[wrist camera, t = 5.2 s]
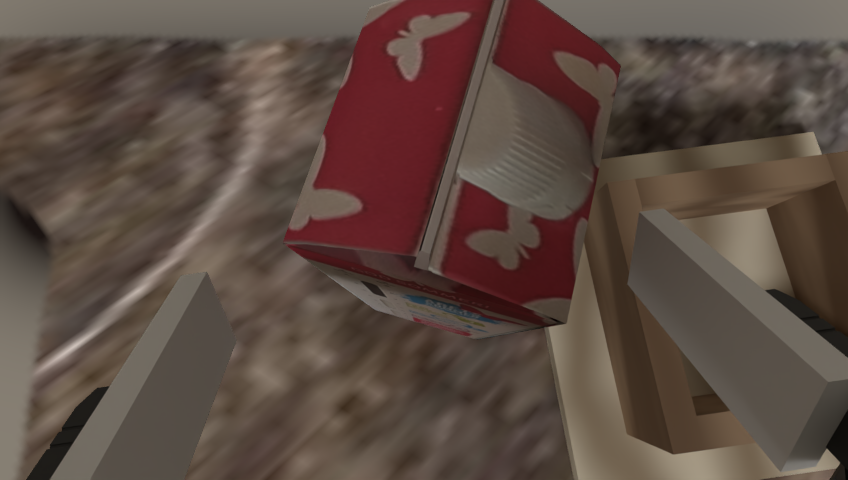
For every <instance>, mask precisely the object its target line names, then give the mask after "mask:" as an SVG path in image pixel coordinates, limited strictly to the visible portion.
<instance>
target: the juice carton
mask: <svg viewBox="0 0 848 480" xmlns="http://www.w3.org/2000/svg"><path fill="white" fill-rule="evenodd" d="M494 1H495V2H494ZM492 8H493V9H492ZM491 11H492V12H491ZM489 18H490V19H489ZM488 21H489V22H488ZM487 25H488V26H487ZM496 25H497V26H496ZM486 28H487V29H486ZM485 31H486V32H485ZM620 67H621V66H620V64H619V63H618V62H617V61H616V60H615V59H614V58H613V57H612V56H611V55H610V54H609V53H608V52H607V51H606V50H605V49H604V48H603V47H602V46H600V45H599V44H598V43H596V42H595V41H593V40H592V39H591V38H589V37H588V36H587V35H585V34H584V33H582V32H581V31H580V30H578V29H577V28H575V27H574V26H573V25H571V24H570V23H569V22H567V21H566V20H564V19H563V18H562V17H560V16H559V15H557V14H556V13H554V12H553V11H552V10H551V9H549V8H548V7H546V6H545V5H544V4H542V3H541V2H540V1H538V0H389V1H386V2H383V3H380V4H378V5H375V6H372V7H370V9H369V11H368V14H367V17H366V20H365V22H364V25H363V28H362V30H361V33H360V36H359V38H358V41H357V44H356V46H355V49H354V52H353V54H352V57H351V60H350V63H349V65H348V68H347V71H346V73H345V76H344V79H343V81H342V84H341V87H340V90H339V92H338V95H337V98H336V100H335V103H334V106H333V108H332V111H331V114H330V116H329V119H328V122H327V125H326V127H325V130H324V133H323V135H322V138H321V141H320V143H319V146H318V149H317V152H316V154H315V157H314V160H313V162H312V165H311V168H310V170H309V173H308V176H307V179H306V181H305V184H304V187H303V189H302V192H301V195H300V197H299V200H298V203H297V205H296V208H295V211H294V214H293V216H292V219H291V222H290V224H289V227H288V230H287V232H286V235H285V238H284V241H283V244H285V245H286V246H288V247H289V248H290V249H292V250H293V251H295V252H296V253H297V254H299V255H300V256H301V257H303V258H304V259H306V260H307V261H308V262H310V263H311V264H313V265H314V266H315V267H317V268H318V269H319V270H321V271H322V272H324V273H325V274H326V275H328V276H329V277H331V278H332V279H333V280H335V281H336V282H337V283H339V284H340V285H342V286H343V287H344V288H346V289H347V290H348V291H350V292H351V293H353V294H354V295H355V296H357V297H358V298H360V299H361V300H362V301H364V302H365V303H367V304H368V305H369V306H371V307H372V308H374V309H375V310H377V311H381V312H384V313H388V314H391V315H394V316H398V317H401V318H405V319H408V320H412V321H415V322H418V323H422V324H425V325H429V326H432V327H436V328H439V329H442V330H446V331H449V332H453V333H456V334H460V335H463V336H466V337H470V338H473V339H482V338H488V337H494V336H500V335H505V334H511V333H517V332H523V331H528V330H534V329H540V328H545V327H551V326H557V325H563V324H567V319H568V314H569V310H570V305H571V300H572V295H573V291H574V286H575V281H576V276H577V272H578V267H579V262H580V257H581V253H582V248H583V243H584V238H585V234H586V229H587V224H588V219H589V215H590V210H591V205H592V200H593V195H594V191H595V186H596V181H597V176H598V172H599V167H600V162H601V157H602V153H603V148H604V143H605V138H606V134H607V129H608V124H609V119H610V115H611V110H612V105H613V100H614V96H615V91H616V86H617V81H618V77H619V72H620Z"/></svg>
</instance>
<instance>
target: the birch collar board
mask: <svg viewBox="0 0 848 480" xmlns="http://www.w3.org/2000/svg"><path fill="white" fill-rule="evenodd" d="M657 209H665V210H666V211H668V212H669V213H670V214H671V215H672V216H674V217H675V218H676V219H677V220H679V221H680V222H681V223H682V224H684V225H685V226H686V227H687V228H688V229H690V230H691V231H692V232H693V233H695V234H696V235H697V236H698V237H700V238H701V239H702V240H703V241H704V242H706V243H707V244H708V245H709V246H711V247H712V248H713V249H714V250H716V251H717V252H718V253H719V254H720V255H722V256H723V257H724V258H725V259H727V260H728V261H729V262H730V263H732V264H733V265H734V266H735V267H737V268H738V269H739V270H740V271H741V272H743V273H744V274H745V275H746V276H748V277H749V278H750V279H751V280H753V281H754V282H755V283H756V284H757V285H759V286H760V287H761V288H762V289H764V290H770V289H776V290H779V291H781V292H783V293H785V294H787V295H789V296H791V297H793V298H795V299H798V300H800V301H801V302H802V303H804V304H805V305H806V306H808V307H809V308H810V309H811V310H813V311H814V312H815V313H817V314H818V315H819V318H820V319H824V320H826V321H827V322H828V323H830V324H831V325H832V326H834V327H835V330H836V331H840V332H841V333H843V334H844V335H845V336H847V337H848V151H845V152H837V153H830V154H821V151H820V148H819V146H818V143H817V140H816V137H815V135H814V132H809V133H801V134H793V135H785V136H778V137H770V138H762V139H754V140H747V141H739V142H731V143H723V144H716V145H708V146H700V147H692V148H685V149H677V150H669V151H661V152H653V153H646V154H638V155H630V156H622V157H615V158H607V159H601V162H600V167H599V172H598V176H597V181H596V186H595V191H594V195H593V200H592V205H591V210H590V215H589V219H588V224H587V229H586V234H585V238H584V243H583V248H582V253H581V257H580V262H579V267H578V272H577V276H576V281H575V286H574V291H573V295H572V300H571V305H570V310H569V314H568V319H567V324H563V325H557V326H551V327H545V328H544V329H545V334H546V339H547V344H548V350H549V355H550V360H551V365H552V370H553V375H554V381H555V386H556V391H557V396H558V401H559V407H560V412H561V417H562V422H563V427H564V432H565V438H566V443H567V448H568V453H569V458H570V463H571V469H572V474H573V479H574V480H760V479H766V478H773V477H780V476H787V475H794V474H801V473H807V472H814V471H821V470H828V469H835V468H837V467H838V466H839V464H840V462H839V461H838V460H837V459H836V458H835V457H834V456H833V455H832V453H831V452H830V451H829V450H828V449H826V450H825V452H824V454H823V455H822V457H821V459H820V461H819V462H818V464H817V466H816V467H811V468H805V469H798V470H792V471H785V472H780V471H779V470H778V469H777V467H776V466H775V465H774V464H773V462H772V461H771V460H770V459H769V458H768V456H767V455H766V454H765V453H764V451H763V450H762V449H761V448H760V446H759V445H758V444H757V443H756V442H755V440H754V439H753V438H752V437H751V435H750V434H749V433H748V432H747V431H746V429H745V428H744V427H743V426H742V424H741V423H740V422H739V421H738V419H737V418H736V417H735V416H734V415H733V413H732V412H731V411H730V410H729V408H728V407H727V406H726V405H725V403H724V402H723V401H722V400H721V399H720V397H719V396H718V395H717V394H716V392H715V391H714V390H713V389H712V388H711V386H710V385H709V384H708V383H707V381H706V380H705V379H704V378H703V376H702V375H701V374H700V373H699V372H698V370H697V369H696V368H695V367H694V365H693V364H692V363H691V362H690V360H689V359H688V358H687V357H686V356H685V354H684V353H683V352H682V351H681V349H680V348H679V347H678V346H677V345H676V343H675V342H674V341H673V340H672V338H671V337H670V336H669V335H668V333H667V332H666V331H665V330H664V329H663V327H662V326H661V325H660V324H659V322H658V321H657V320H656V319H655V317H654V316H653V315H652V314H651V313H650V311H649V310H648V309H647V308H646V306H645V305H644V304H643V303H642V302H641V300H640V299H639V298H638V297H637V295H636V294H635V293H634V292H633V290H632V289H631V288H630V287H629V286H628V278H629V272H630V265H631V259H632V253H633V247H634V241H635V235H636V229H637V223H638V217H639V212H642V211H649V210H657Z"/></svg>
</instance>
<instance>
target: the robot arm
mask: <svg viewBox="0 0 848 480" xmlns="http://www.w3.org/2000/svg"><path fill="white" fill-rule="evenodd" d="M628 286H629V287H630V288H631V289H632V290H633V292H634V293H635V294H636V295H637V297H638V298H639V299H640V300H641V302H642V303H643V304H644V305H645V306H646V308H647V309H648V310H649V311H650V313H651V314H652V315H653V316H654V317H655V319H656V320H657V321H658V322H659V324H660V325H661V326H662V327H663V329H664V330H665V331H666V332H667V333H668V335H669V336H670V337H671V338H672V340H673V341H674V342H675V343H676V345H677V346H678V347H679V348H680V349H681V351H682V352H683V353H684V354H685V356H686V357H687V358H688V359H689V360H690V362H691V363H692V364H693V365H694V367H695V368H696V369H697V370H698V372H699V373H700V374H701V375H702V376H703V378H704V379H705V380H706V381H707V383H708V384H709V385H710V386H711V388H712V389H713V390H714V391H715V392H716V394H717V395H718V396H719V397H720V399H721V400H722V401H723V402H724V403H725V405H726V406H727V407H728V408H729V410H730V411H731V412H732V413H733V415H734V416H735V417H736V418H737V419H738V421H739V422H740V423H741V424H742V426H743V427H744V428H745V429H746V431H747V432H748V433H749V434H750V435H751V437H752V438H753V439H754V440H755V442H756V443H757V444H758V445H759V446H760V448H761V449H762V450H763V451H764V453H765V454H766V455H767V456H768V458H769V459H770V460H771V461H772V462H773V464H774V465H775V466H776V467H777V469H778V470H779V471H780V472H785V471H792V470H798V469H805V468H811V467H816V466H817V464H818V462H819V461H820V459H821V457H822V455H823V454H824V452H825V450H826V449H828V450H829V451H830V452H831V453H832V455H833V456H834V457H835V458H836V459H837V460H838V461H839V462H840V464H839V466H838V467H837V469H836V471H835V472H834V474H833V475H832V477H831V478H830V480H848V337H847V336H845V335H844V334H843V333H841V332H840V331H836V330H835V327H834V326H832V325H831V324H830V323H828V322H827V321H826V320H824V319H820V318H819V315H818V314H817V313H815V312H814V311H813V310H811V309H810V308H809V307H808V306H806V305H805V304H804V303H802V302H801V301H800V300H798V299H795V298H793V297H791V296H789V295H787V294H785V293H783V292H781V291H779V290H776V289H770V290H764V289H762V288H761V287H760V286H759V285H757V284H756V283H755V282H754V281H753V280H751V279H750V278H749V277H748V276H746V275H745V274H744V273H743V272H741V271H740V270H739V269H738V268H737V267H735V266H734V265H733V264H732V263H730V262H729V261H728V260H727V259H725V258H724V257H723V256H722V255H720V254H719V253H718V252H717V251H716V250H714V249H713V248H712V247H711V246H709V245H708V244H707V243H706V242H704V241H703V240H702V239H701V238H700V237H698V236H697V235H696V234H695V233H693V232H692V231H691V230H690V229H688V228H687V227H686V226H685V225H684V224H682V223H681V222H680V221H679V220H677V219H676V218H675V217H674V216H672V215H671V214H670V213H669V212H668V211H666V210H665V209H657V210H649V211H642V212H639V217H638V223H637V229H636V235H635V241H634V247H633V253H632V259H631V265H630V272H629V278H628ZM236 341H237V339H236V337H235V335H234V333H233V330H232V328H231V326H230V323H229V321H228V319H227V317H226V314H225V312H224V310H223V307H222V305H221V303H220V301H219V298H218V296H217V294H216V291H215V289H214V287H213V284H212V282H211V280H210V278H209V275H208V273H207V272H202V273H195V274H188V275H181V276H180V278H179V279H178V281H177V283H176V284H175V286H174V287H173V289H172V290H171V292H170V293H169V295H168V297H167V298H166V300H165V301H164V303H163V304H162V306H161V307H160V309H159V311H158V312H157V314H156V315H155V317H154V318H153V320H152V321H151V323H150V325H149V326H148V328H147V329H146V331H145V332H144V334H143V335H142V337H141V339H140V340H139V342H138V343H137V345H136V346H135V348H134V349H133V351H132V353H131V354H130V356H129V357H128V359H127V360H126V362H125V363H124V365H123V367H122V368H121V370H120V371H119V373H118V374H117V376H116V377H115V379H114V381H113V382H112V384H111V385H110V386H108V387H101V388H97V389H96V390H94V391H93V392H92V393H91V394H90V395H89V396H88V397H87V398H86V399H85V400H83V401H82V402H81V403H80V404H79V405H78V406H77V407H76V408H75V409H74V411H73V412H72V414H71V415H70V417H69V418H68V420H67V421H66V423H65V424H64V425H63V427H62V432H59V433H58V434H57V436H56V437H55V438H54V440H53V441H52V443H51V444H50V449H48V450H46V452H45V453H44V454H43V456H42V457H41V459H40V460H39V462H38V463H37V465H36V466H35V467H34V469H33V470H32V472H31V473H30V475H29V476H28V478H27V479H26V480H184V479H185V476H186V473H187V471H188V468H189V465H190V463H191V460H192V457H193V455H194V452H195V449H196V447H197V444H198V441H199V439H200V436H201V434H202V431H203V428H204V426H205V423H206V420H207V418H208V415H209V412H210V410H211V407H212V404H213V402H214V399H215V396H216V394H217V391H218V388H219V386H220V383H221V381H222V378H223V375H224V373H225V370H226V367H227V365H228V362H229V359H230V357H231V354H232V351H233V349H234V346H235V343H236Z"/></svg>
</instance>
